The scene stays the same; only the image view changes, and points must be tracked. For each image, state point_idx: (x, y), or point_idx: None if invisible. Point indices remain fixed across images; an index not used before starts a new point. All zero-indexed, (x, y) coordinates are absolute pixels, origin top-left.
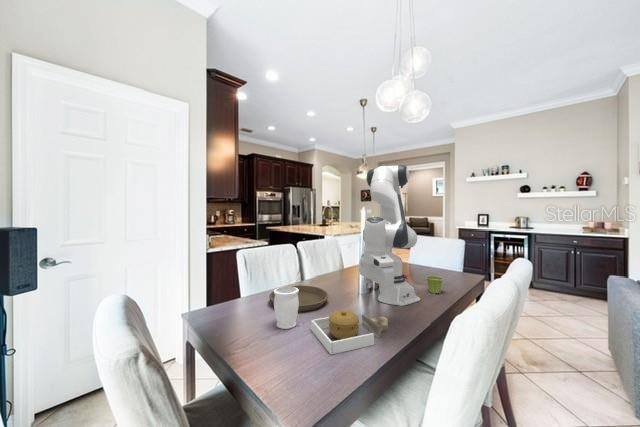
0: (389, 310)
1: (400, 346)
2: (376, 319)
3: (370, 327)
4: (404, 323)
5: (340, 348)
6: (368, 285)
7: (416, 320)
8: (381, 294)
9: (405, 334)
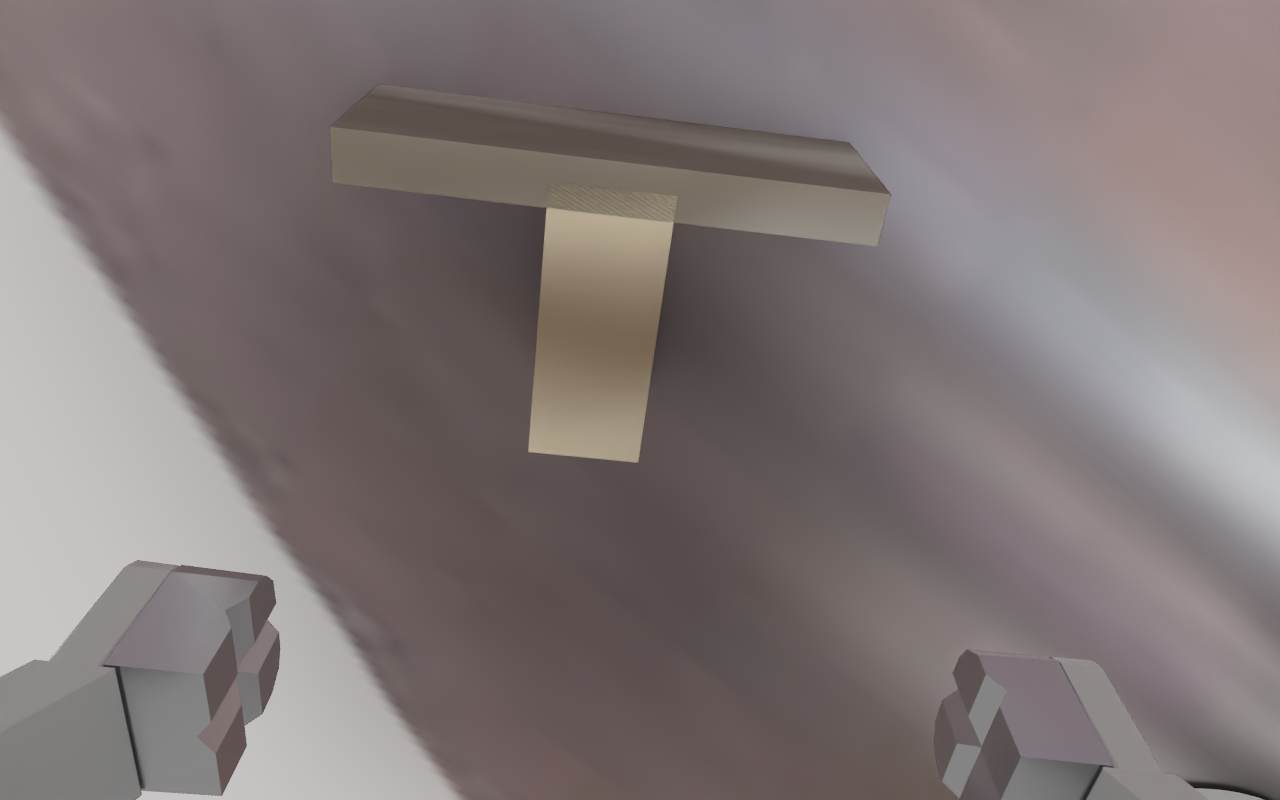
0: None
1: (68, 199)
2: (591, 293)
3: (592, 128)
4: (575, 629)
5: None
6: (987, 737)
7: (572, 761)
8: (117, 600)
9: (333, 462)
